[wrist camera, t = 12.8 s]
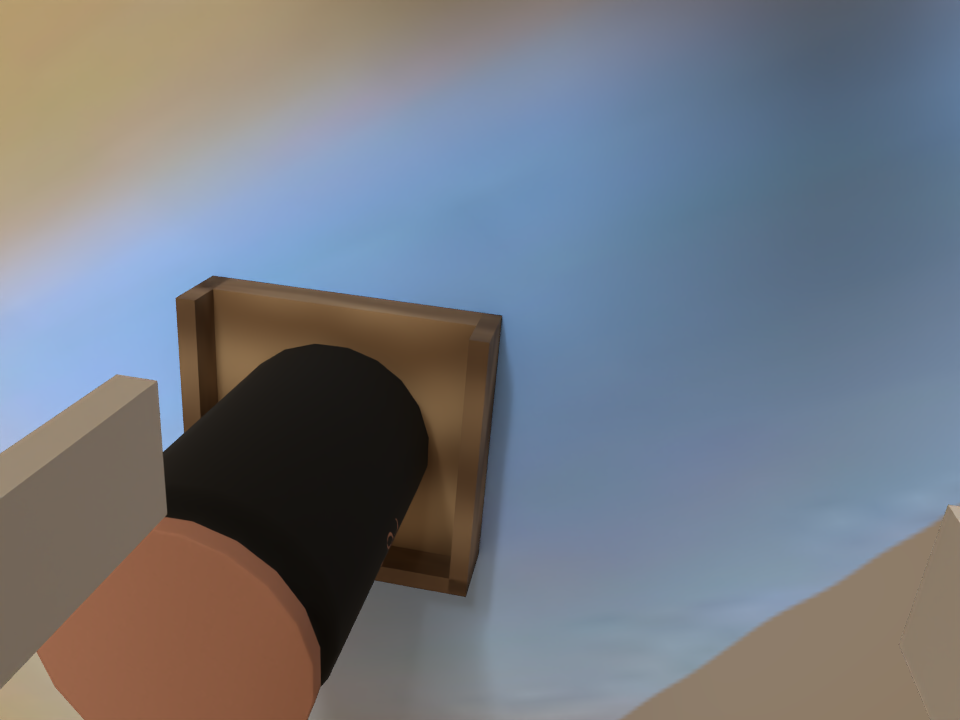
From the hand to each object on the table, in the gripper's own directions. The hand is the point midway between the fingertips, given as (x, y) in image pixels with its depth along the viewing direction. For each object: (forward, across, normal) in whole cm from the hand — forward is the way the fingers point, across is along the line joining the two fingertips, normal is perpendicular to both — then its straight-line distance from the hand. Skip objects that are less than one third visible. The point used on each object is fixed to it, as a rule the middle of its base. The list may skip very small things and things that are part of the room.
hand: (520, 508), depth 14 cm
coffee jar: (+27, -12, -14) cm, 33 cm away
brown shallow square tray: (+29, -12, -14) cm, 34 cm away
